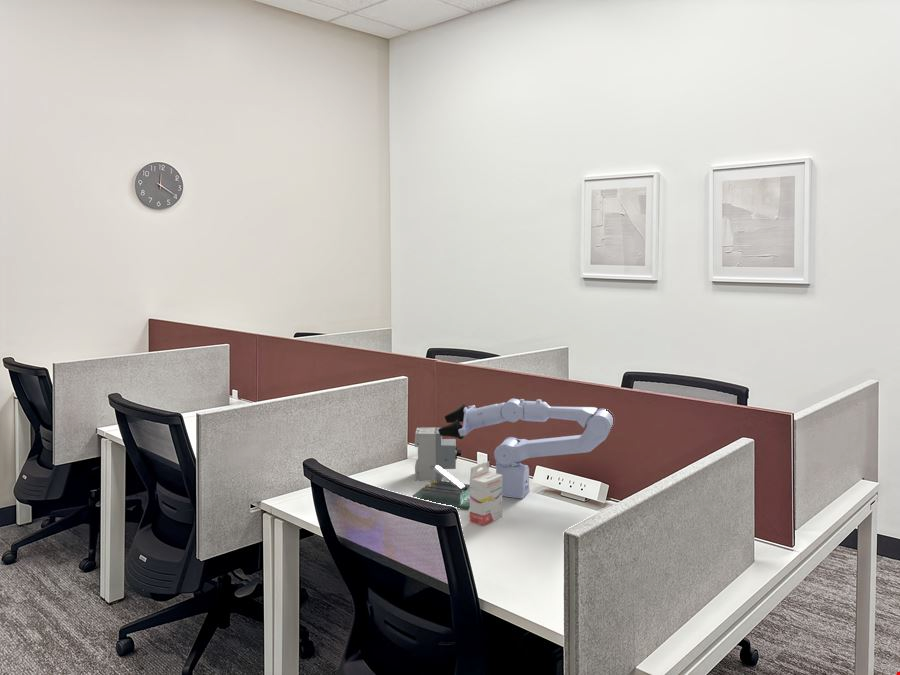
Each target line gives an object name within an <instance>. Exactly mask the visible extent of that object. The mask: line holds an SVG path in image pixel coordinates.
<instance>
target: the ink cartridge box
mask: <svg viewBox="0 0 900 675" xmlns="http://www.w3.org/2000/svg"><path fill="white" fill-rule="evenodd" d="M480 468H481V470H480ZM469 473H470V475H469V485H470V508H469V522H470V523H474V524H477V525H478V526H479V525H480V526H482V527H483V526H486V525H488V524H491V523H492V522H494V521H496V520H498V519H500V517H501V518H503V496H502V481H503V475H501V474H496V472H491V471H490V461H485V462H483V463H480V464H478V465H475V466H474V465H473V466H471V468H470V472H469Z"/></svg>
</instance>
